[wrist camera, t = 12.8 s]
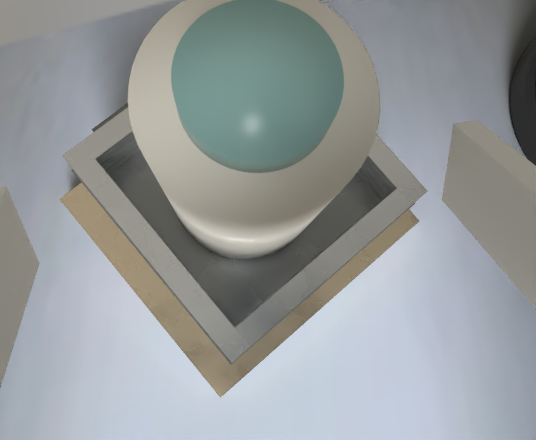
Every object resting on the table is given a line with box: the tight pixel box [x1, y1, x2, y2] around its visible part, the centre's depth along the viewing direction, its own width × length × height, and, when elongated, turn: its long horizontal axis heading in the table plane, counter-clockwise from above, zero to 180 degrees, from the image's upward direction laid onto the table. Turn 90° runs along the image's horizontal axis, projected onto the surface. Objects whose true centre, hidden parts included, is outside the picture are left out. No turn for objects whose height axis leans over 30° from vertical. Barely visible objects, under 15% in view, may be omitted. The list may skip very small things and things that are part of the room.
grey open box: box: [60, 103, 427, 397], centre depth 27 cm, size 15×16×10 cm
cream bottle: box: [128, 0, 380, 259], centre depth 19 cm, size 7×7×12 cm
